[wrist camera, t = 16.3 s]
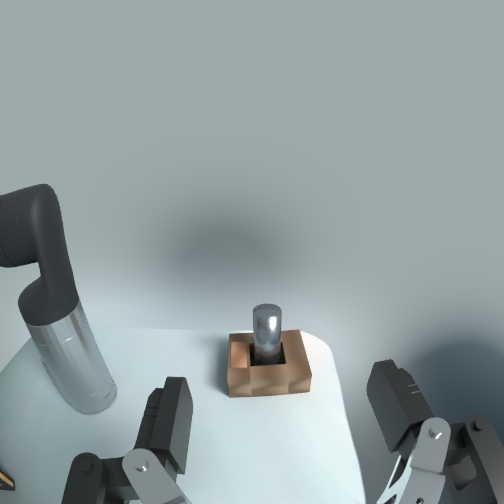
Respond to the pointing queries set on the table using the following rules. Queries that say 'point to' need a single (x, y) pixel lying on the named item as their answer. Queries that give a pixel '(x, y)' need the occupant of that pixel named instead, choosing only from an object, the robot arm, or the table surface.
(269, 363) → the barrel peg
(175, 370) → the table surface
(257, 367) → the block
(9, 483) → the ammunition clip
